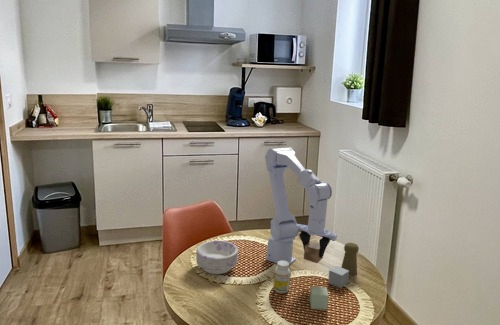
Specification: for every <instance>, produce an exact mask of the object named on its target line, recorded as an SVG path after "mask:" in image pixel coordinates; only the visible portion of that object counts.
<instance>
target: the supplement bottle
mask: <svg viewBox="0 0 500 325" xmlns="http://www.w3.org/2000/svg"><path fill="white" fill-rule="evenodd" d="M276 264H277V265H276V267H275V269H274V274H273V276H274V277H273V279H274V280H273V290H274V291H276V292H277V293H280V294H283V293H287V292H289V290H290V285H291V284H290V283H291V273H292V271H291V269H290V264H289V262H287V261H283V260H282V261H278V262H277V263H276Z"/></svg>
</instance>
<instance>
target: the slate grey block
mask: <svg viewBox="0 0 500 325" xmlns="http://www.w3.org/2000/svg"><path fill="white" fill-rule="evenodd" d="M341 267H342V266H339V265H335V266H334V267H333V268H330V269H329V271H328V280H327V283H328V284H329V283H330V284H329V285H332V286H335V287H336V286H337V287H336V288H338V287H339V288H338V289H342V288H344V287H345V286H346V285H348V284H349V277H350V275H349V270H346V269H344V268H341ZM347 283H348V284H347ZM344 285H345V286H344ZM341 287H342V288H341Z"/></svg>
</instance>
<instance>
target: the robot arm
mask: <svg viewBox="0 0 500 325" xmlns="http://www.w3.org/2000/svg"><path fill="white" fill-rule="evenodd" d="M296 154H297V153H296V151H294V149H293V148H292V147H290V146H288V147H279V148H269V149H267V151H266V153H265V155H264V160H265V164H266V170H267V172H268V174H269V176H268V177H269V181H270V188H271V193H272V200H273V206H274V212H275V216H274V217H273V218H272V219H271V220H270V232H269V233H270V237H269V238H268V241H267V246H266V247H267V248H266V258H265V260H266V261H269V262H272V263H275V264H277V262H278V261H282V260H283V261H287V262H289V265H291V264H292V263H294V261H296V260H297V259H296V257H293V249H294V241H295V240H296V237H297V236H298V235H299V236H298V237H299V238H300V240H301V243H302V245H303V246H302V247H303V250H304V249H305V245H306V244H308V243H309V242H310V241H311V236H317V237H320V239H319V242H318V243H319V244H320V252H319V258H322V257H323V258H324V254H325V252H326V249H327V246H329V244H330V242H331V241H332V242H335V241H337V240H338V234H336V233H334V232H331V231H329V230H327V229H325V228H326V217H327V207H328V200H330V199H331V197H332V194H333V191H332V190H333V188H332V187H331V185H330V184H329V182H327V181H323V180H322V181H321V179H319V178H318V177H317V175H316V174H315V173H314V172H313V170H312V169H307V168H305V167H304V166H303V165H302V163H301V162H300V160H298V157H297V156H296ZM288 168H289V169H290V170H291V171H292V172H293V173H294V174H295V175H296V176H297V181H298V182H299V184H300V185H301V186H302V187H303V188H304V189H305V190H306V195H307V197H308V204H309V207H308V208H309V209H308V220H307V221H308V222H307V225H306V224H301V223H298V222H297V220H296V216H295V215H293V214H291V213H290V209H289V208H290V207H289V203H288V197H287V196H288V195H287V192H286V185H285V180H284V179H285V178H284V172H285V170H286V169H288ZM299 232H300V233H299ZM323 258H322V259H323Z"/></svg>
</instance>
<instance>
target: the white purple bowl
mask: <svg viewBox="0 0 500 325" xmlns="http://www.w3.org/2000/svg"><path fill="white" fill-rule="evenodd" d="M195 254H196V257H195V258H196V264H197V265H198V266H199V267H200V268H202V269H203V270H204V271H205V272H206V273H208V274H212V275H221V274H225V273H228V272H229V271H230V270H232V268H234V267H235V266H237V264H238V261H239V248H238V246H237V245H236V244H234V243H232V242H230V241H226V240H209V241H205V242H203V243H202V242H201V244H199V245H198V246H197V247H196V253H195Z"/></svg>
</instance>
